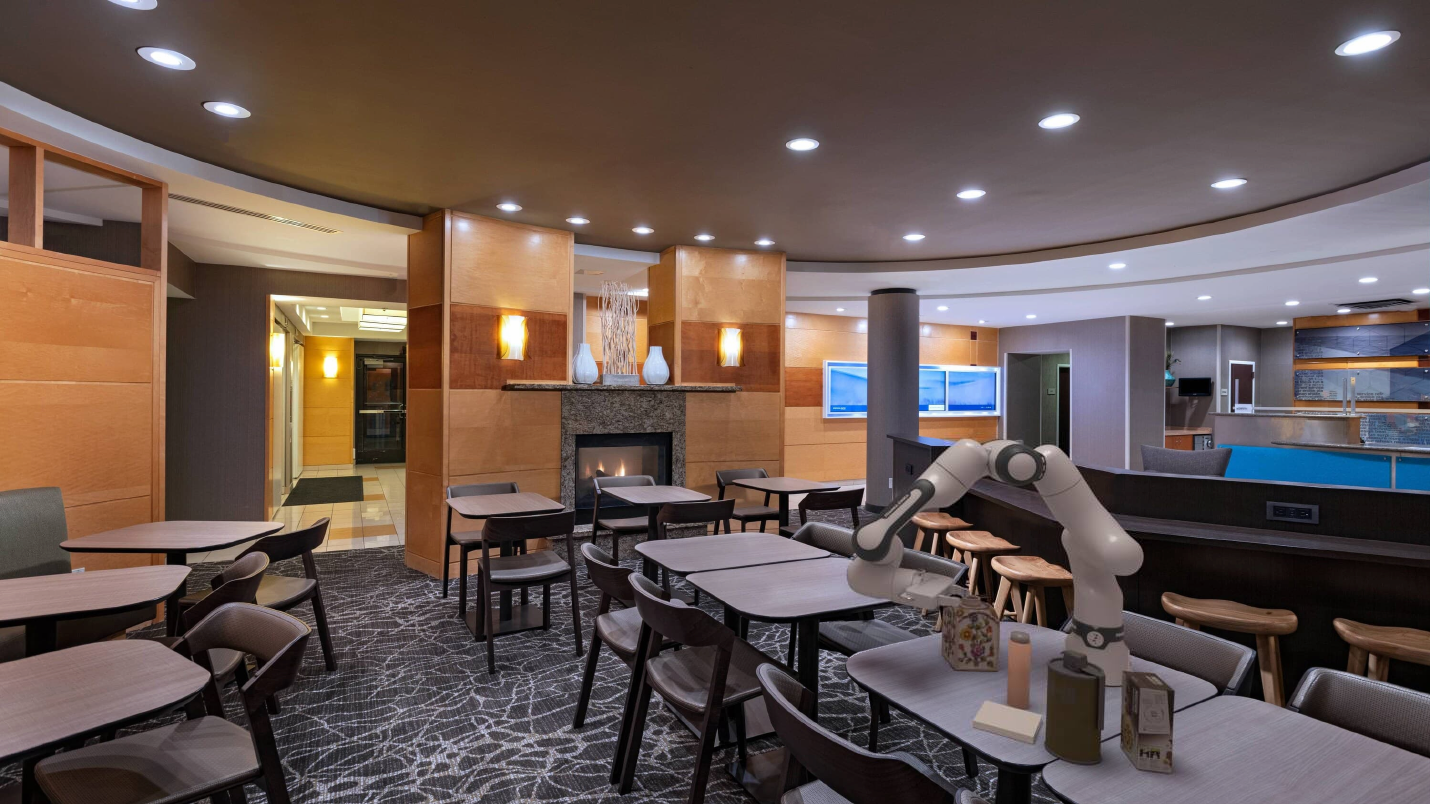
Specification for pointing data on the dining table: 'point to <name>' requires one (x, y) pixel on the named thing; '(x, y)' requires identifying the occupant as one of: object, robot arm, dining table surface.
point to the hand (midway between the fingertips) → (964, 597)
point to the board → (1008, 721)
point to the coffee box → (1147, 721)
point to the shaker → (1019, 670)
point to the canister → (1075, 708)
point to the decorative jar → (971, 635)
